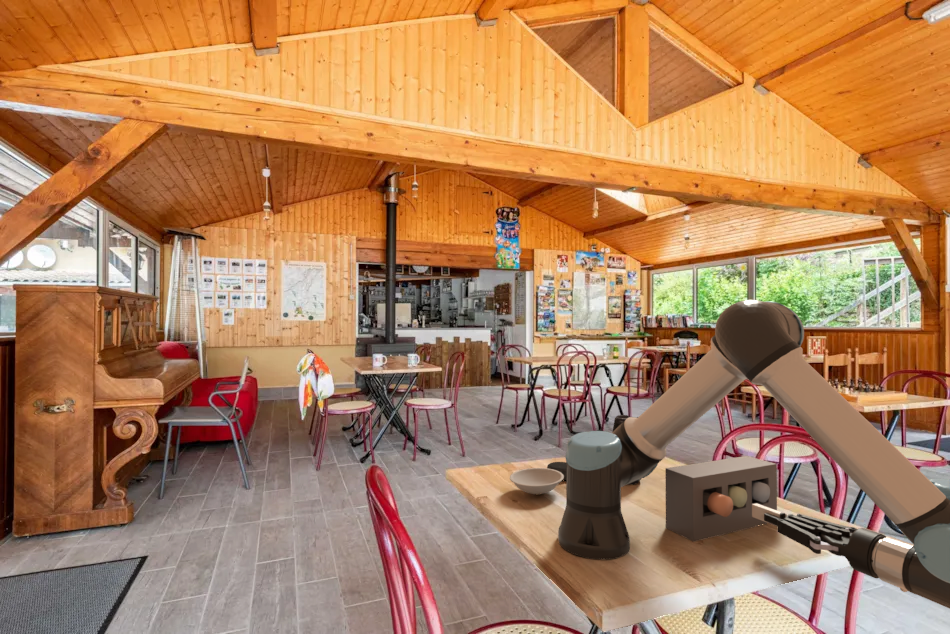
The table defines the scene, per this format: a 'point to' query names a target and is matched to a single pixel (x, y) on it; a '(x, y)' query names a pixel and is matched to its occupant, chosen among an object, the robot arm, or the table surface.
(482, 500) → the table surface
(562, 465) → the smart speaker
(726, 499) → the terracotta button
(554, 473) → the dish
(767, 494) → the grey rounded knob
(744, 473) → the console
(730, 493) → the sage button
